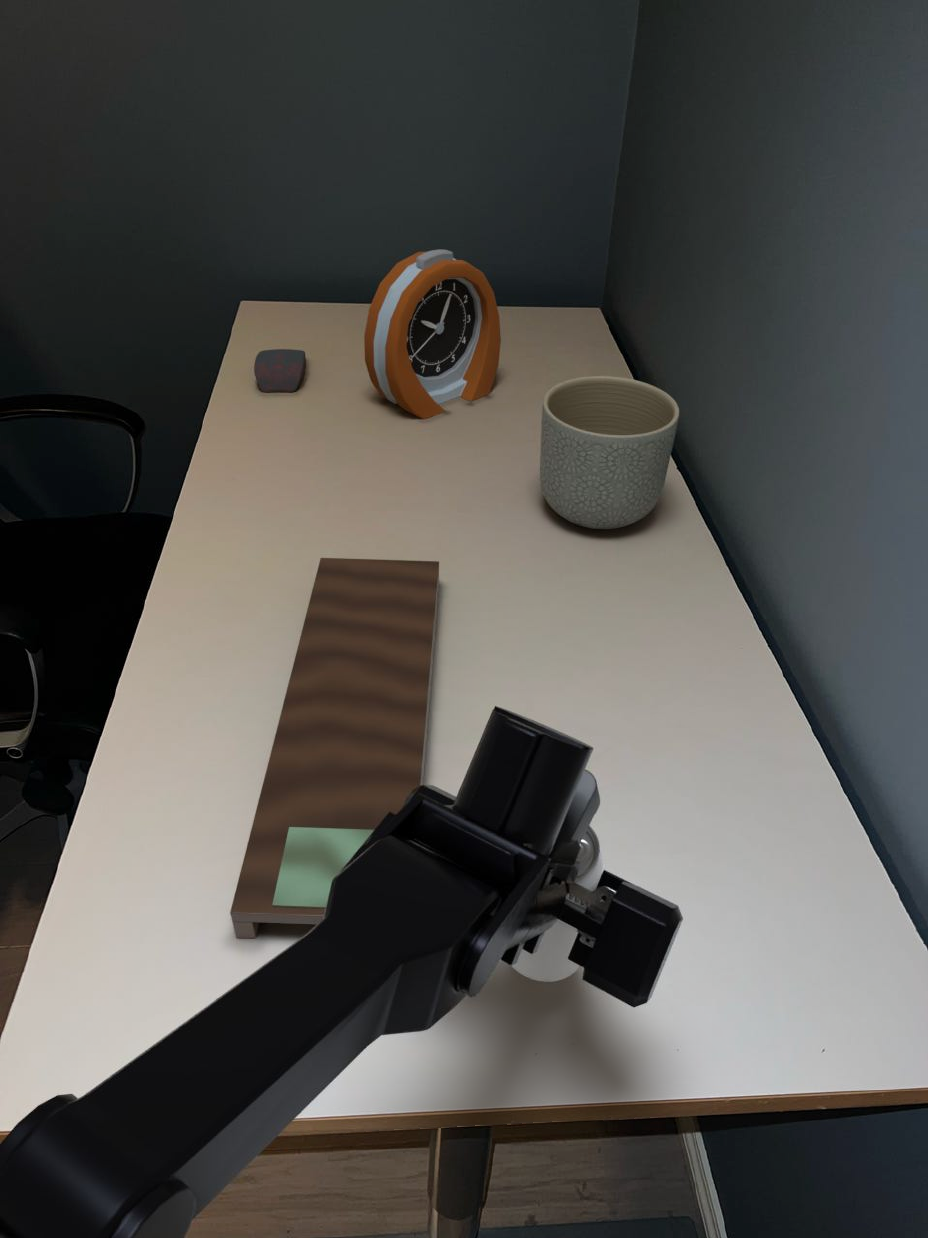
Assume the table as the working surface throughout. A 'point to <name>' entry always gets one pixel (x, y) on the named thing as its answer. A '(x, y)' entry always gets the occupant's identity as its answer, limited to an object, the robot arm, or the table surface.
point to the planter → (605, 449)
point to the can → (563, 923)
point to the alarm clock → (432, 333)
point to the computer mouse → (279, 369)
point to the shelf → (341, 735)
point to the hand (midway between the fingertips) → (559, 878)
